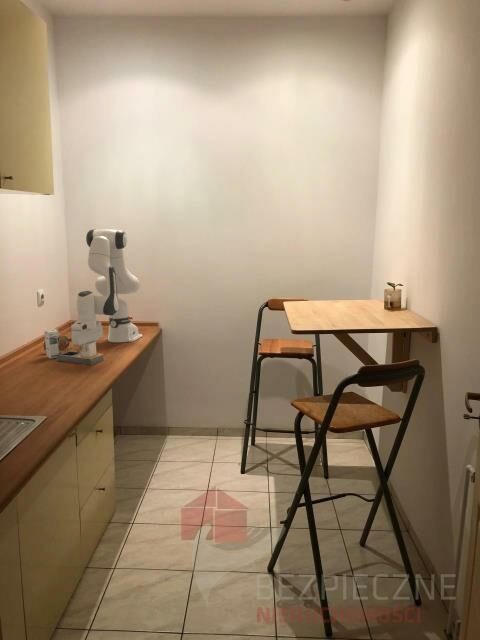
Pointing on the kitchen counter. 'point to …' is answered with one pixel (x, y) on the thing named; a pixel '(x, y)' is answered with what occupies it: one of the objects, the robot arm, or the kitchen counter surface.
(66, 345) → the tin
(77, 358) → the socket rail
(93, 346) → the square peg
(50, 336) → the syrup box
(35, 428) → the kitchen counter surface
